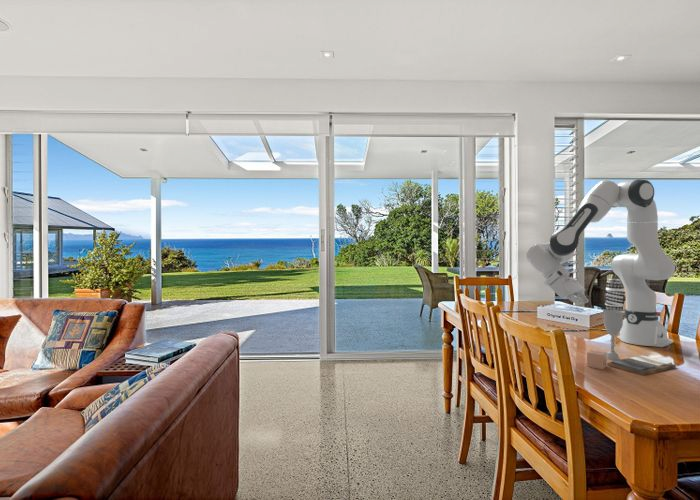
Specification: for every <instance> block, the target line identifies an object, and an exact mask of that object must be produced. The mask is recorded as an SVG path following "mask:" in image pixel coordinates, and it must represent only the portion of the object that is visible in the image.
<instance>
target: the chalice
mask: <svg viewBox="0 0 700 500" xmlns="http://www.w3.org/2000/svg"><path fill="white" fill-rule="evenodd" d="M602 313H603V325H604V326H605V327H604V328H605V329H606V332H607V334H608V335H609V336H610V344H609V346H610V350H608V351H607V352H606V353H607V359H608V360H612V361H616V360H621V359H620V356H619V354H618V352H616V351H615V347H616V345H615V342H616V340H615V336H618V335H619V334H620V330H621V328H622V326H623V318H624V317H623V315H624V313H625V312H624V310H623V311H619V310H606V309H602Z"/></svg>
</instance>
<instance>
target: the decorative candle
mask: <svg viewBox="0 0 700 500" xmlns="http://www.w3.org/2000/svg"><path fill="white" fill-rule="evenodd" d="M605 282H606V287H605V290H604V293H605V294H604V299H605V300H604V305H605V310H619V311H624V306H625V302H624V301H626V295H625V289H624V286H623V283H622V281H621V279H620V278H609V279H607V281H605ZM624 319H625V317H624V314H623V320H624Z"/></svg>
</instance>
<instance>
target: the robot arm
mask: <svg viewBox="0 0 700 500" xmlns="http://www.w3.org/2000/svg"><path fill="white" fill-rule="evenodd" d="M654 196H655V188H654V186H653V184H652V182H651V181H649V180H646V179H641V178H640V179H630V180H623V181H620V182H615V181H612V180H607V179H603V180H601V181H599V182H597V184H595V185H594V186H593V187H592V188H591V189H590V190H589V191H588V192H587V194H586V195H585V196H584V198H583V199H582V200H581V201H580V203H579V206H578V208H577V210H576V212H575V214H574V215H573V216H572V217H571V219H570V220H569V221H568V222H567V224H566V225H564V226H563V227H562V228H560V229H558V230H556V231H555V232H554V233H552V235H551V236H550V239H549V242H546V243H535V244H533V245H532V246H531V247H530V248H529V249H528V251H527V252H526V259H527V261H528V262H529V264H530V265H531V267H532V268H534V269H535V271H536V272H537V273H539V274H540V275H541V276H542V278H543V279H544V280H545V281H544V284H545V285H546V286H547V287H550V289H551V290H552V291H553V292H554V293H555V294H556V295H557V296H559V297H560V298H561V299H568V300H569V301H570V302H572V303H573V304H575V306H577V307H578V306H580V305H581V304H582V302H583V304H587V303H589V302H590V300H589V299H588V298H587V296H586V295H585V293H584V292H585V291H586V290H585V288H584V286H583V285H582V284H580V283H579V282H578V281H577V280H576V279H575V278H573V277H572V276H570V275H571V273H570V271H568V270H567V269H566V268H565V266H563V264H565V263H567V262H569V261H570V260H572V258H573V256H574V253H575V251H576V249H577V248H578V245H579V240H580V239H579V238H580V236H581V234H582V233H583V232H584V230H586V228H587V226H588V225H589V224H590V223H598V222H600V221H601V220H603V218H604V217H605V216H606V215H607V214H608V213H609V212H610V210H611V209H612V208H625V209H627V218H626V219H627V220H626V239H627V242H629V244H631V245H633V246H634V247H635V249H636V251H637V253H623V254H618V255H615V256H614V257H613V259H612V261H611V270H612V272H613V273H614V274H615V275H616V276H617V278H618V279H621V281H622V283H623V286H624V292H625V294H624V295H625V309H624V308H623V311H624V312H625V313H624V314H623V315H624V317H623V318H624V320H623V326H622V328H621V330H620V331H619V334H618V335H616V338H617V339H619V340H620V341H621V342H622V343H627V344H631V345H637V346H646V347H658V348H663V347H664V348H665V347H667V346H668V345H669V346H670V344H673V343H674V339H671V338H668V332H667V328H666V326H664V325H663V324H662V323H661V322H660V321H659V317H661V316H662V312H661V311H657V294H656V292H655V291H654V290H653V289H652V288H650V287H649V286H648V284H647V282H646V281H647V280H648V281H662V280H669V279H670V278H672V277H673V276H674V275H675V272H676V264H675V262H674V260H673V259H672V258H671V257H670V256H668V254H667V253H665V252H664V250H663V248H662V246H661V244H660V241H659V240H660V239H659V228H658V227H659V224H658V221H659V217H658V209H657V204H656V201H655V199H654ZM576 296H578V298H580V299H578V298H577V297H576Z"/></svg>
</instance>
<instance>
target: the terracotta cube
mask: <svg viewBox="0 0 700 500" xmlns="http://www.w3.org/2000/svg"><path fill="white" fill-rule="evenodd" d="M586 357H587V359H586V360H587V361H586V367H589V368H594V369H599V370H604V369H605V368H606V367H607V366H608V365H607V363H608V360H607V352H605V351H599V350H594V349H593V350H592V349H591V350H590V351H587V356H586Z"/></svg>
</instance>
